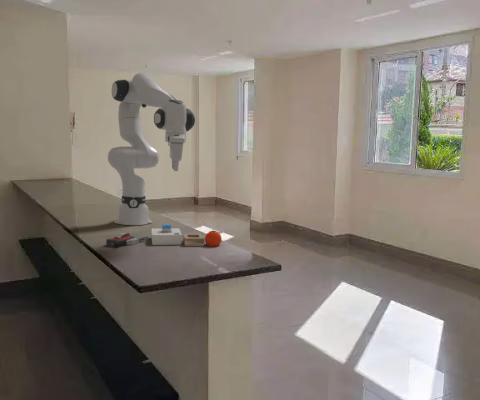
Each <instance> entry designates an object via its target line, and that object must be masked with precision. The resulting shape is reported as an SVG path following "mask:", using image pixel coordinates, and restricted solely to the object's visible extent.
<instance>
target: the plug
mask: <svg viewBox="0 0 480 400" xmlns="http://www.w3.org/2000/svg"><path fill="white" fill-rule="evenodd" d="M161 228H162V233H171V228H172V225H171V223H161Z"/></svg>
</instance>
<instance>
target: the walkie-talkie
mask: <svg viewBox="0 0 480 400" xmlns="http://www.w3.org/2000/svg"><path fill="white" fill-rule="evenodd" d="M148 238H150V237H149V236H144V237H141V238H136V237H135V236H134V235H131V234H130V233H129V232H120V233H118V235H114V236H113V237H110V238H107V239H106V241H105V244H106V246H107V247H112V248H121V247H124V246H133V245H137V244H139V243H140V241H144V240H145V239H148Z"/></svg>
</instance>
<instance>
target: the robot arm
mask: <svg viewBox="0 0 480 400" xmlns="http://www.w3.org/2000/svg"><path fill="white" fill-rule="evenodd" d="M111 96H112V98H113V99H114V100H115V101H117V102H120V103H119V105H118V113H117V114H118V117H117V118H118V129H119V135H120V137H121V139H122V140H123V141H125V142H127V143H128V144H130V145H131V146H115V147H112V148H111V149H110V150H109V151H108V154H107V161H108V164H109V165H110V166H111V167H112V168H113V169H114V170H116V172H117V173H118V174H119V176H120V179H121V188H122V195H121V204H120V205H119V206H118V208H117V209H118V215H117V216H118V217H117V219H115V220H114V224H118V225H123V226H141V225H142V226H143V225H148V224H153V220H152V219H150V218H149V216H150V215H149V207H148V205H147V204H146V201H147V200H146V199H147V197H146V194H145V193H146V187H145V186H146V183H145V180H144V178H142V177H141V176H140V175H137V174H136V173H135V171H134V169H150V168H151V169H152V168H155V167H156V166H157V165H158V163H159V160H160V155H159V152H158V151H157V150H156V148H155V147H153V146H152V145H150V144H149V143H148V141H147V140H146V138H145V136H144V133H143V128H142V119H141V112H140V108H141V107H142V108H143V109H145V108H146V107H147V106H148V107H153V108H154V107H155V108H158V109H157V110H156V111H154V115H153V122H154V125H155V127H156V128H158V130H165V136H164V138H165V142H167V145H168V146H169V158H170V159H171V168H172V170H173V171H174V172H178V171H179V163H180V161H181V160H182V156H183V148H184V143H186V142H187V132H189V131H190V130H192V129H193V127H194V126H195V123H196V116H195V115H194V112H192V110H191V109H189V108H187V107H186V103H185V102H184V101H182V100H178V99H176V98H175V97H174V96H173V95H172V94H171V93H168V92H167V91H166V90H164V89H163V88H161V87H160V86H159V85H158V84H157V82H156V81H155V80H154V79H153V78H152V77H151V76H150V75H149V74H146V73H145V72H138V73H136V74H134V75H133V77H132V79H131V80H127V79H118V80H115V81H114V82H113V83H112V86H111Z"/></svg>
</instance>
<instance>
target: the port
mask: <svg viewBox="0 0 480 400" xmlns="http://www.w3.org/2000/svg"><path fill="white" fill-rule="evenodd" d="M150 234H151V235H150V238H151V244H152V245H154V246H155V245H156V246H157V245H161V246H163V245H166V246H167V245H168V246H169V245H175V246H176V245H182V243H183V233H182V231H181V230H180V228H179V227H178V228H176V227H175V228H172V227H171V233H162V227H161V228H160V227H158V228H156V227H155V228H153V227H152V228H151V233H150Z"/></svg>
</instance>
